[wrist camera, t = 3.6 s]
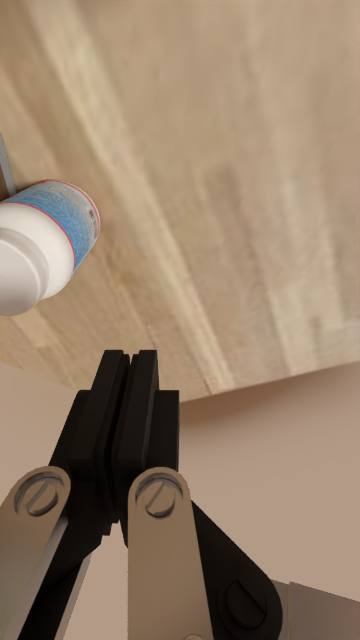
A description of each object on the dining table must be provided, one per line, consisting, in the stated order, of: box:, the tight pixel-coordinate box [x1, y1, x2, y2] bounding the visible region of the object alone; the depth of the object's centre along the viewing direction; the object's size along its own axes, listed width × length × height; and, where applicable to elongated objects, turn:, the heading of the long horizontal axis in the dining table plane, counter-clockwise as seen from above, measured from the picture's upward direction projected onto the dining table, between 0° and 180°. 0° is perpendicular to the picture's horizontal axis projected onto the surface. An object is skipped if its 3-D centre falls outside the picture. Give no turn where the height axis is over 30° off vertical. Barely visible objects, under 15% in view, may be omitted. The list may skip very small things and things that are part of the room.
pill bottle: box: [0, 180, 100, 316], centre depth 22 cm, size 6×6×11 cm
